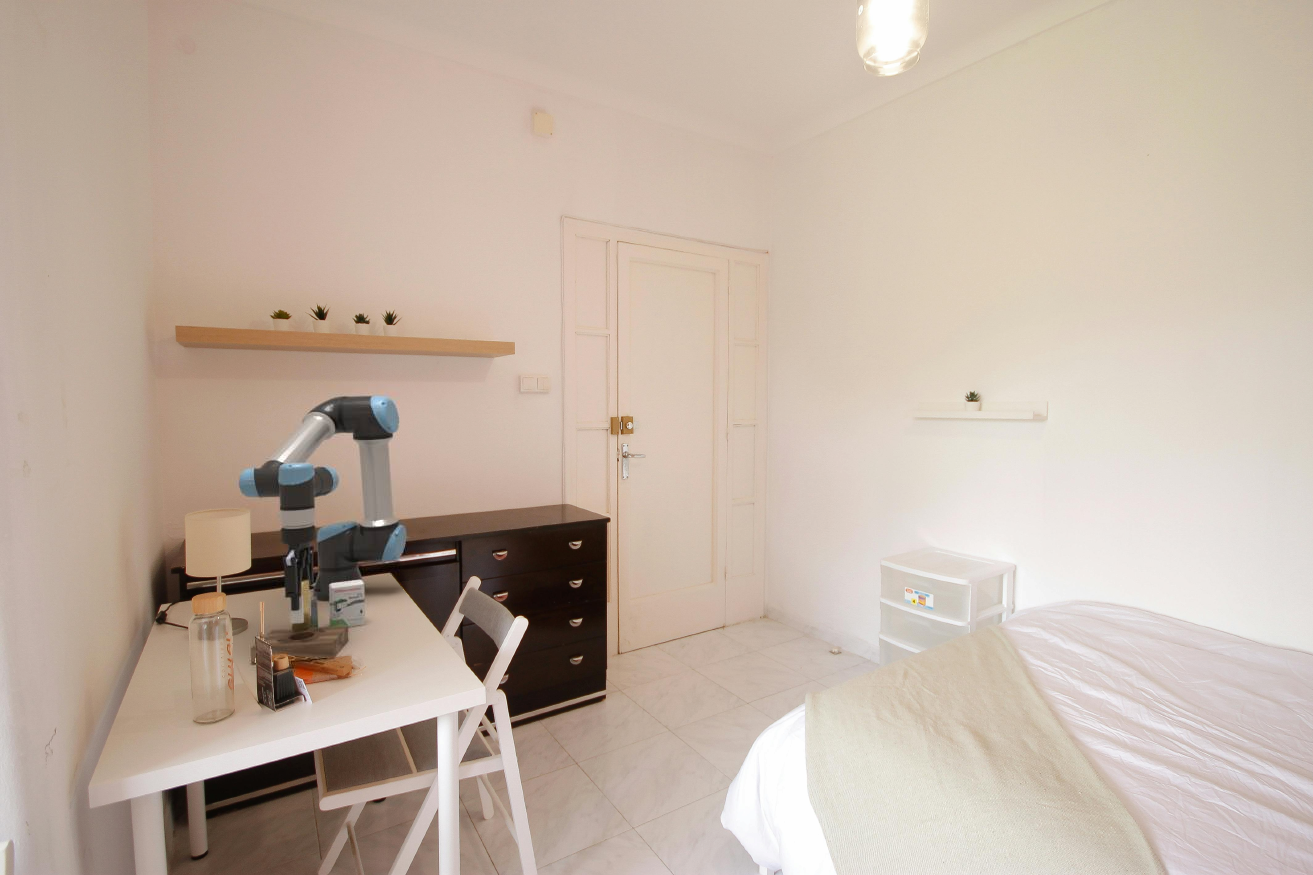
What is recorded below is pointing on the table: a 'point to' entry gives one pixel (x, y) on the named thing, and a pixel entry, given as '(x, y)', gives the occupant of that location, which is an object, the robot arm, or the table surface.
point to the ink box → (347, 603)
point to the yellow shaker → (304, 608)
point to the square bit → (314, 613)
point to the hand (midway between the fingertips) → (301, 619)
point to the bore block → (306, 642)
